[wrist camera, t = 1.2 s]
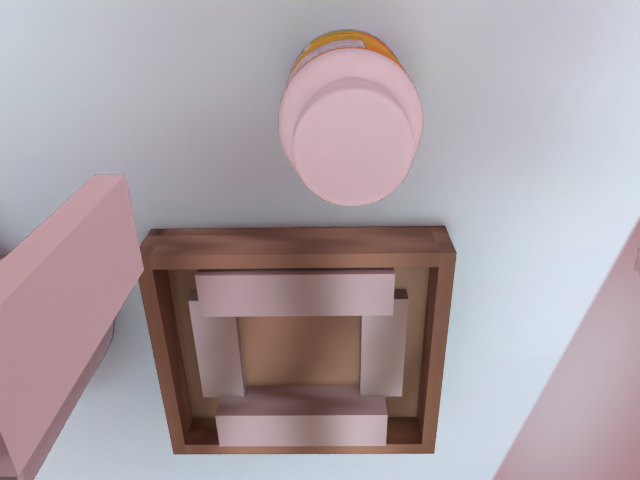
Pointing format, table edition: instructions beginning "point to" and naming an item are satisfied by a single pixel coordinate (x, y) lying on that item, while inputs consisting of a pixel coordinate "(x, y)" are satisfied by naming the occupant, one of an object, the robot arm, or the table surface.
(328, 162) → the supplement bottle
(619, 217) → the table surface
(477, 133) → the table surface
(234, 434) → the walled box
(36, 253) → the robot arm
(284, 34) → the table surface
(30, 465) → the mug
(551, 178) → the table surface
